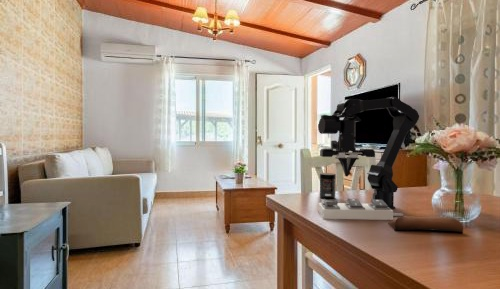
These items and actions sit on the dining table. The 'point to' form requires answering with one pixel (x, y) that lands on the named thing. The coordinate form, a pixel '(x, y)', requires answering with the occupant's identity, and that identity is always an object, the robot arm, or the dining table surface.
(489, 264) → the dining table surface
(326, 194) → the supplement container
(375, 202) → the rocker
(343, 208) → the power strip
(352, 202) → the rocker middle
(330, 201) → the rocker
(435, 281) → the dining table surface
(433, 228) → the sunglasses case
